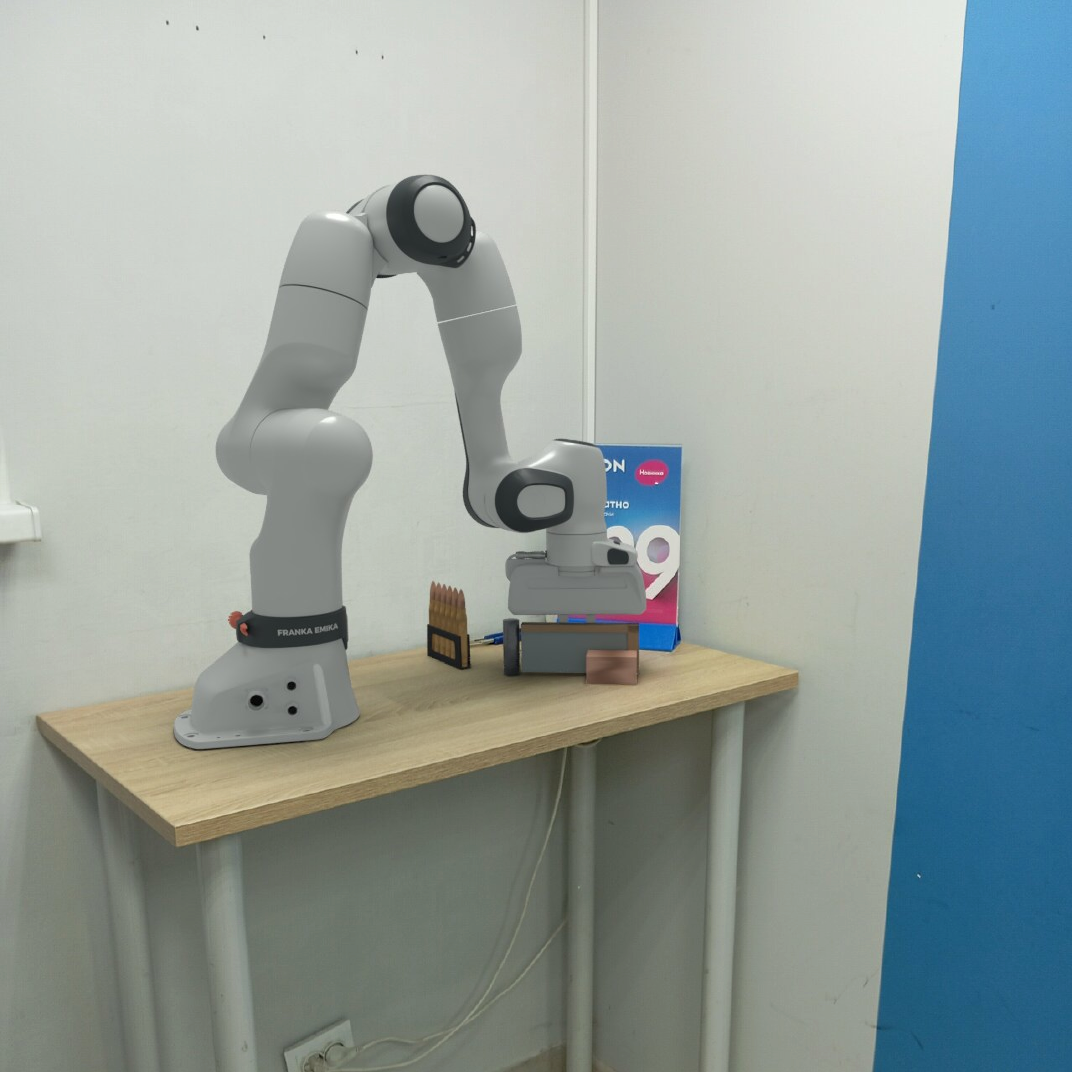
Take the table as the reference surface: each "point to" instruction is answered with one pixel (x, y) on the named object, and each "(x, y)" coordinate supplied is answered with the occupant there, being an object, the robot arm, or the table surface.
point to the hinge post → (511, 647)
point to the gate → (572, 644)
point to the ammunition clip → (448, 627)
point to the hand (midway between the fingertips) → (577, 643)
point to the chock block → (611, 667)
